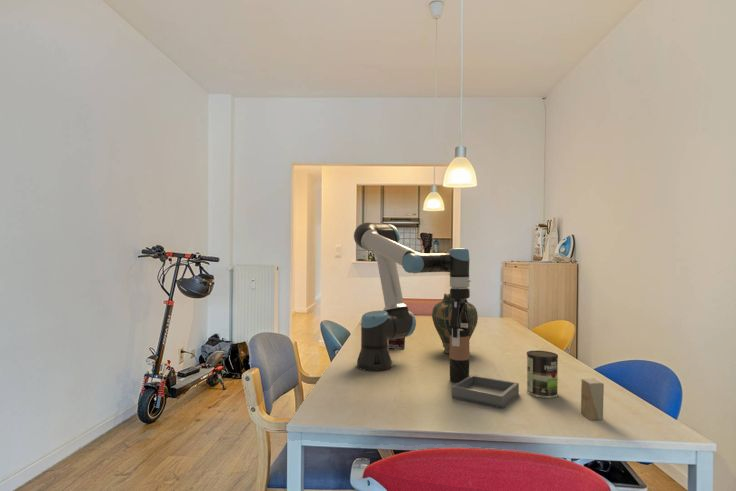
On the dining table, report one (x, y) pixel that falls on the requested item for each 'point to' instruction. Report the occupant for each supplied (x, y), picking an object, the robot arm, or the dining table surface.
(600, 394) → the box
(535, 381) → the coffee can
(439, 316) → the vase
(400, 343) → the supplement box
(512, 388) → the bin
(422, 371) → the dining table surface
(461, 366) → the travel mug
